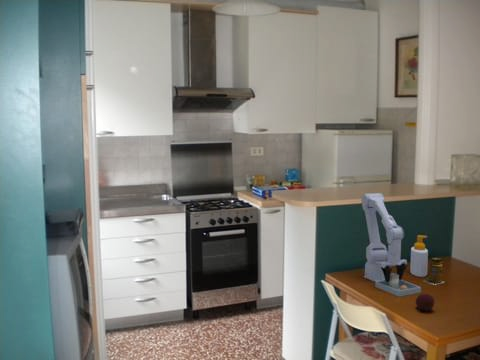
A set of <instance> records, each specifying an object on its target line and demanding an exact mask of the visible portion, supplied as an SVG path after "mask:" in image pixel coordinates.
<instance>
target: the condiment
mask: <svg viewBox="0 0 480 360" xmlns="http://www.w3.org/2000/svg"><path fill="white" fill-rule="evenodd" d="M428 272H429V273H428V275H429V276H428V279H425V280H423V282H424V283H427V284H429V285H432V286H433V285H434V286H436V285H441V284H444V283H446V282H445V281H443V280H442V279H443V259H442V258H440V257H431V258H430V263H429V271H428ZM430 282H431V283H430ZM434 283H435V284H434Z"/></svg>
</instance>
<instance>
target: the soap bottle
mask: <svg viewBox="0 0 480 360" xmlns="http://www.w3.org/2000/svg"><path fill="white" fill-rule="evenodd" d="M416 238H417V239H416V240H417V241H416V242H414V244H413V246H412V247H411V248H410V269H409V272H410V273H411V275H413V276H415V277H419V278H424V277H426V276H427V275H428V266H429V265H428V261H429V260H428V259H429V257H428V256H429V250H428V249H427V248H426V244H425V243H424V242H423V239H428V236H427V235H420V234H419V235H417V237H416Z"/></svg>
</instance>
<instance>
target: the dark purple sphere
mask: <svg viewBox="0 0 480 360" xmlns="http://www.w3.org/2000/svg"><path fill="white" fill-rule="evenodd" d="M415 304H416V307H417V308H418V309H419V310H421V311H422V312H423V311H426V312H427V311H431V310H432V309H433V308H434V305H435V299H434V297H433V296H432V295H431V294H428V293H421V294H420V293H419V295H417V297H416V299H415Z"/></svg>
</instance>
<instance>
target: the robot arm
mask: <svg viewBox="0 0 480 360" xmlns="http://www.w3.org/2000/svg"><path fill="white" fill-rule="evenodd" d="M360 201H361V206H362V211H364V215H365V219H366V226H367V232H368V239H369V244H368V246H366V247H365V252H366V253H365V257H366V260H367V261H366V262H365V264H364V276H363V278H364V279H367V280H369V281H373V282H374V283H375V282H377V281H383V280H385V281H387V282H389V281H390V274H391V273H392V271H393V269H392V268H390V267H394V266H395V267H396V274H399V280H403V279H402V278H403V275H404V273H405V271H406V269H407V267H408V266H407V264H408V260H407V259H404V258H403V259H401V253H402V251H401V250H402V240H403V239H404V237H405V231H404V229H403V227H401V226H400V225H398V224H397V222H396V221H395V219H394V216H392V215H390V214H389V213H388V210H387V208H386V206H385V196H384V195H383V193H381V192H378V193H363V195H362V196H361V200H360ZM377 212H378V214H379V215H380V217H381V223H382V225H383V227H384V229H385V232H386V233H385V236H386V241H387V244H388V246H387V247H388V248H387V247H386V244H384V243H382V242H381V237H380V236H381V235H380V231H379V225H378V219H377V214H376V213H377Z"/></svg>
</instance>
